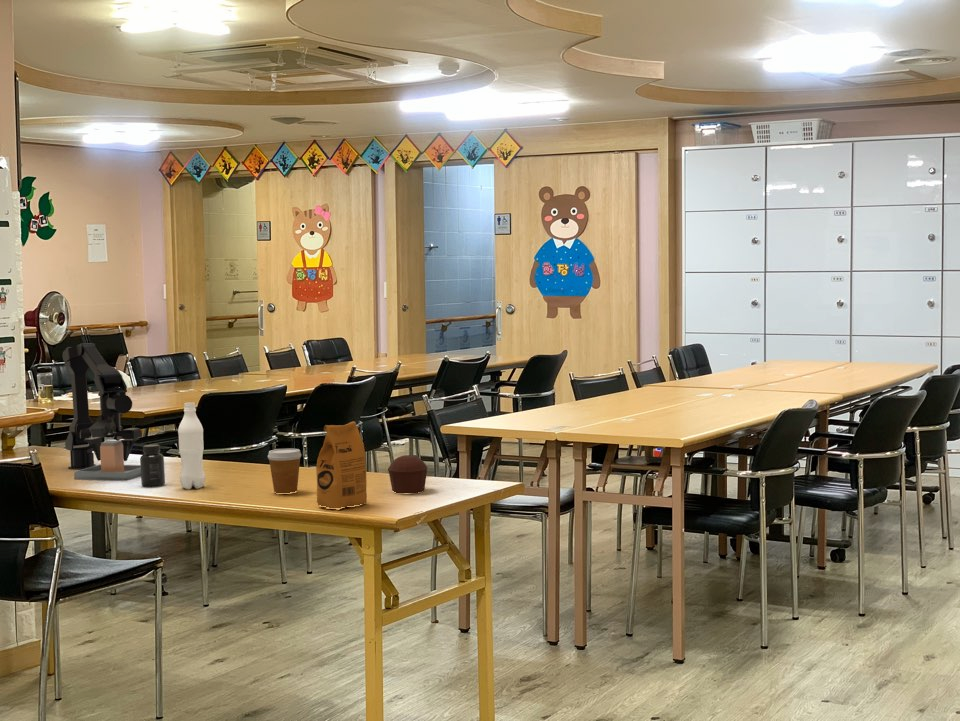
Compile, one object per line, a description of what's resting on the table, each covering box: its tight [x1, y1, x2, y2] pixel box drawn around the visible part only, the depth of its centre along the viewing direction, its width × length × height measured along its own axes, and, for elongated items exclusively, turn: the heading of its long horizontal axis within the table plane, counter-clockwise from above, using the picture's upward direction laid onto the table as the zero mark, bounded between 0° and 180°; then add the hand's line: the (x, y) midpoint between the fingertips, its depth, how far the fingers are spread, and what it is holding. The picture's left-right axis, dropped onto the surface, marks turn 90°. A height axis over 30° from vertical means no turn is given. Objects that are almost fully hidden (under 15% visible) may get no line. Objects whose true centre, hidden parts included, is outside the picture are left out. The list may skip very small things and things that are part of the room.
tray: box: [73, 463, 141, 481], centre depth 369 cm, size 18×14×2 cm
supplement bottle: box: [139, 444, 166, 488], centre depth 350 cm, size 7×7×12 cm
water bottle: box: [177, 401, 206, 490], centre depth 344 cm, size 7×7×25 cm
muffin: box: [387, 454, 429, 494], centre depth 331 cm, size 12×11×10 cm
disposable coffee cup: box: [267, 448, 302, 493], centre depth 333 cm, size 10×10×12 cm
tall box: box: [100, 440, 125, 472], centre depth 369 cm, size 5×5×10 cm
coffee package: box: [315, 421, 368, 508], centre depth 311 cm, size 10×12×22 cm
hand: (112, 460), depth 369 cm, fingers open, 9 cm apart
